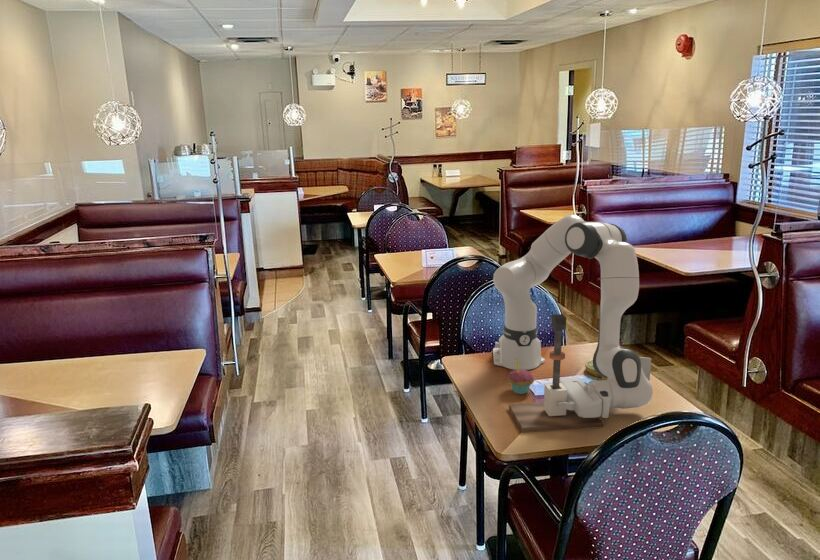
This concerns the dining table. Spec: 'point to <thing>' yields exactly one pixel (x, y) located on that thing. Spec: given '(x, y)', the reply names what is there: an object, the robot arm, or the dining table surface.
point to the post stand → (533, 414)
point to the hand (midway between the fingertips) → (552, 398)
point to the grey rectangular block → (646, 366)
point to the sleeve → (554, 399)
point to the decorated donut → (591, 368)
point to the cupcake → (520, 380)
